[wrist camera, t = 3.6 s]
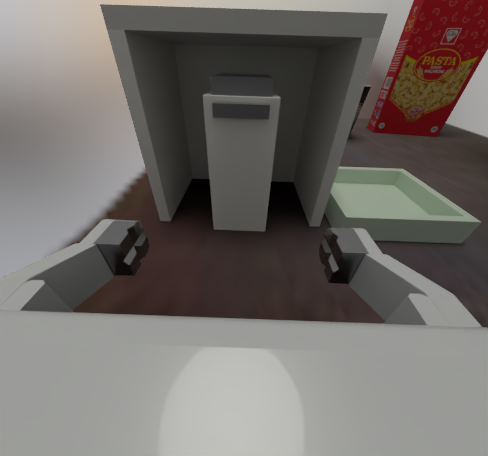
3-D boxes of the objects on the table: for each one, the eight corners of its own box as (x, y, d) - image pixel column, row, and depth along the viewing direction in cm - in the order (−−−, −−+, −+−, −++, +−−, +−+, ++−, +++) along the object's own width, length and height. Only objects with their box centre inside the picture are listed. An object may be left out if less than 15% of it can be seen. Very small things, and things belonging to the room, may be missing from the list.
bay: (299, 179, 29) (328, 35, 20) (319, 226, 21) (387, 13, 11) (187, 175, 29) (164, 30, 20) (160, 221, 21) (100, 4, 12)
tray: (393, 186, 28) (403, 168, 27) (461, 243, 19) (481, 222, 18) (309, 183, 28) (313, 165, 27) (337, 238, 19) (346, 217, 18)
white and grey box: (262, 195, 26) (273, 74, 18) (265, 236, 19) (284, 79, 12) (221, 194, 26) (216, 72, 18) (212, 234, 19) (198, 76, 12)
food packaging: (373, 132, 53) (430, -17, 37) (367, 127, 57) (417, -9, 41) (437, 136, 51) (526, -19, 35) (426, 131, 55) (502, -10, 39)
